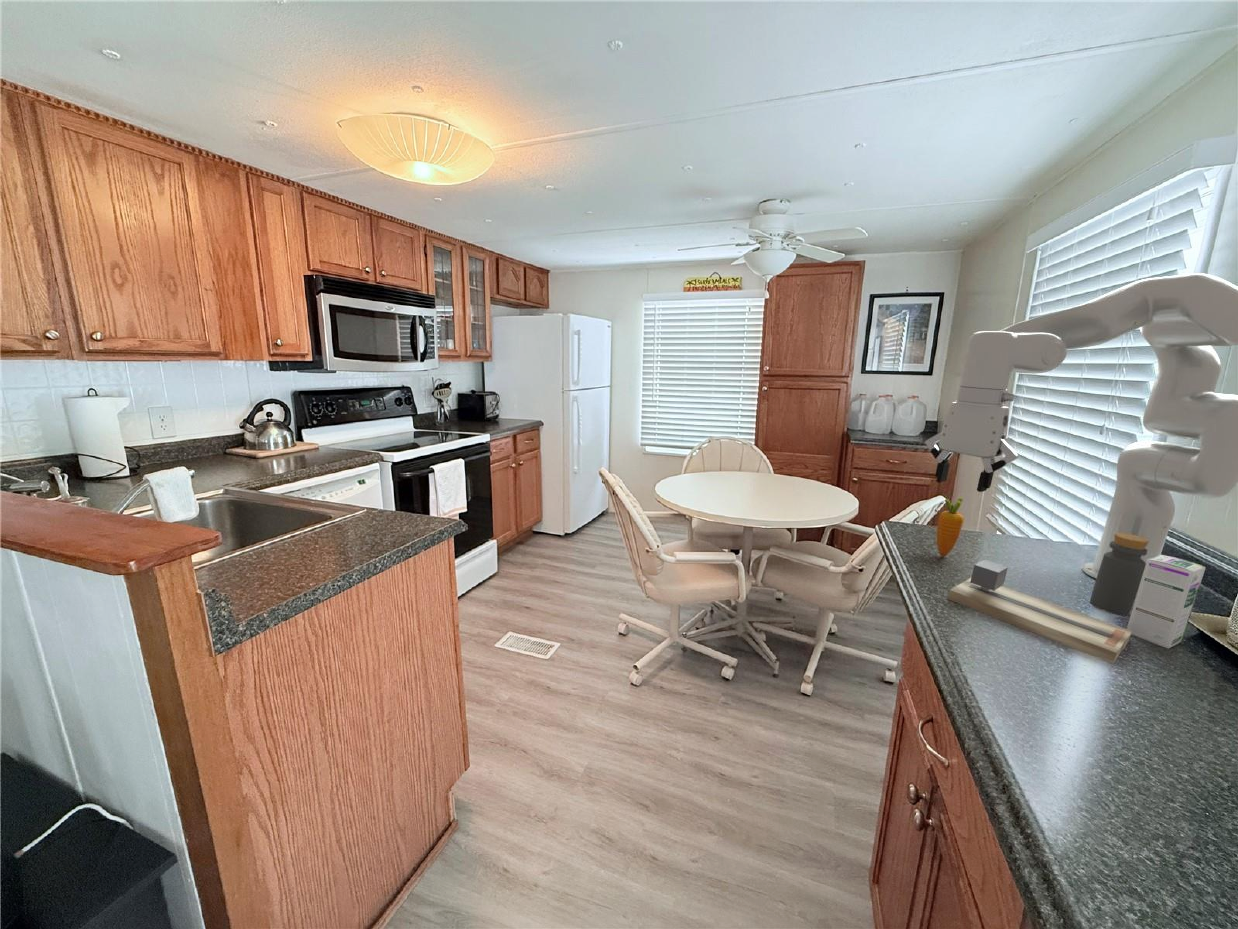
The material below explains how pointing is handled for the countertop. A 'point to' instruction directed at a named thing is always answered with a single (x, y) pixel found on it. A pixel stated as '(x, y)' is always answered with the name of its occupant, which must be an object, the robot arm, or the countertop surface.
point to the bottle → (1120, 574)
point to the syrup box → (1165, 600)
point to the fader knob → (988, 575)
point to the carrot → (949, 528)
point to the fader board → (1045, 619)
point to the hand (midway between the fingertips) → (960, 485)
